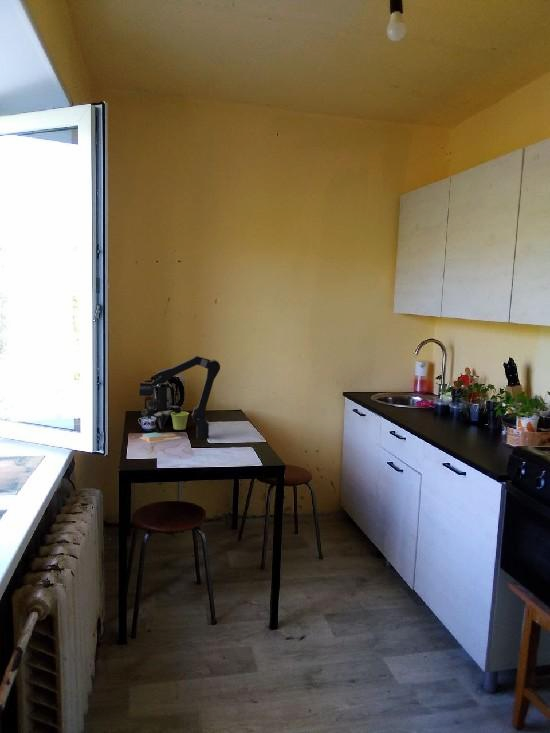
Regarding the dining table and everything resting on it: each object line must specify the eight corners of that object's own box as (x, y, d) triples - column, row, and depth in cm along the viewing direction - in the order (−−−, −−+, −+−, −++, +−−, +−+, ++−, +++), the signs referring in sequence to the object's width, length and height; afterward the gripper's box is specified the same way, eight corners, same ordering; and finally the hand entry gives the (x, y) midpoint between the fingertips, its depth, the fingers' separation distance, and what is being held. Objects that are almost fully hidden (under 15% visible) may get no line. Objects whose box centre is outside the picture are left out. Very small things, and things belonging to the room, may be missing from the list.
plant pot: (191, 431, 281) (191, 414, 280) (173, 432, 277) (173, 415, 276) (185, 427, 290) (186, 411, 288) (168, 428, 286) (168, 412, 284)
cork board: (183, 439, 264) (183, 437, 264) (151, 444, 253) (151, 443, 253) (170, 434, 273) (170, 432, 273) (139, 439, 262) (139, 437, 262)
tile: (162, 435, 260) (149, 437, 255) (162, 439, 260) (149, 441, 255) (155, 432, 265) (142, 434, 261) (155, 436, 265) (142, 438, 261)
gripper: (170, 392, 273) (170, 422, 275) (135, 395, 261) (135, 427, 263) (182, 396, 264) (181, 427, 266) (146, 399, 252) (146, 432, 254)
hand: (161, 428), depth 263 cm, fingers closed
